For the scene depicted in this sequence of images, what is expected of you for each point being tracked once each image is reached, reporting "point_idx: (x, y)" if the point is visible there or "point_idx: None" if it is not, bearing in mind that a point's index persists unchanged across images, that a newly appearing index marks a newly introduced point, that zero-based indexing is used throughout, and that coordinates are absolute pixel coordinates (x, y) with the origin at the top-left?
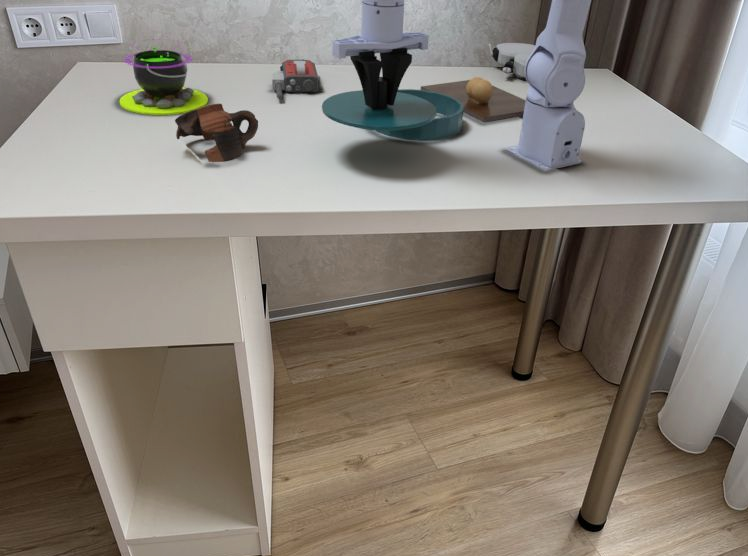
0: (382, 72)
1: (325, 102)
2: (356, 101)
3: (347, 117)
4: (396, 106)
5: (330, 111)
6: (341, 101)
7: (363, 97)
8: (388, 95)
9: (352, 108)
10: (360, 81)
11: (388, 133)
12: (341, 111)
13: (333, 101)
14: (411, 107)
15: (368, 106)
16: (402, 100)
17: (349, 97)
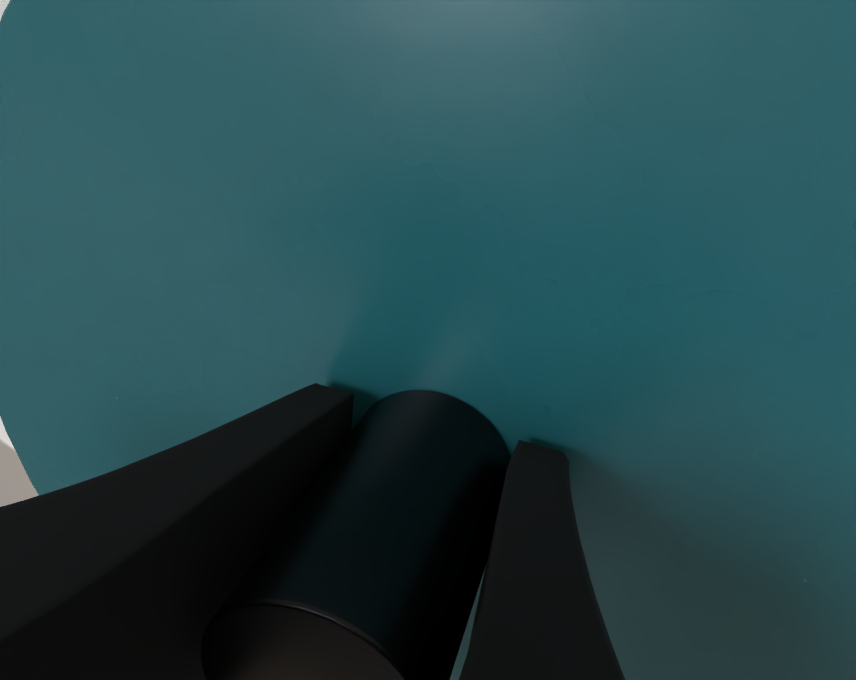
0: (467, 658)
1: (26, 26)
2: (334, 192)
3: (75, 453)
4: (591, 549)
5: (1, 276)
6: (188, 95)
7: (497, 117)
8: (480, 591)
9: (193, 332)
10: (114, 473)
11: None
12: (78, 334)
13: (112, 43)
14: (694, 651)
15: (351, 384)
16: (822, 487)
17: (344, 6)
